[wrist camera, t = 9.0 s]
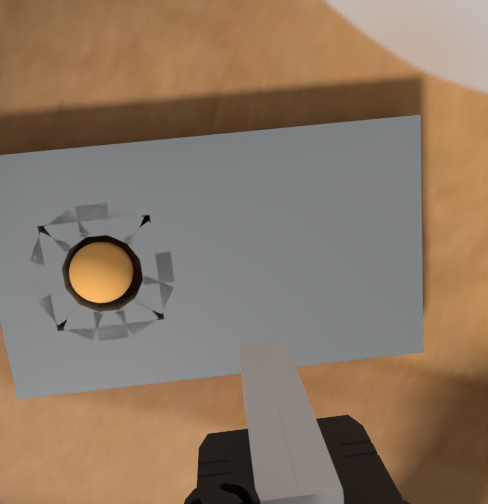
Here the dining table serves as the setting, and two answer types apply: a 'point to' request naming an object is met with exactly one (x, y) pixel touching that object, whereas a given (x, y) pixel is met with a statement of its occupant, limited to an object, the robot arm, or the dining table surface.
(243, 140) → the plate
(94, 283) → the ball
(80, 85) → the dining table surface
